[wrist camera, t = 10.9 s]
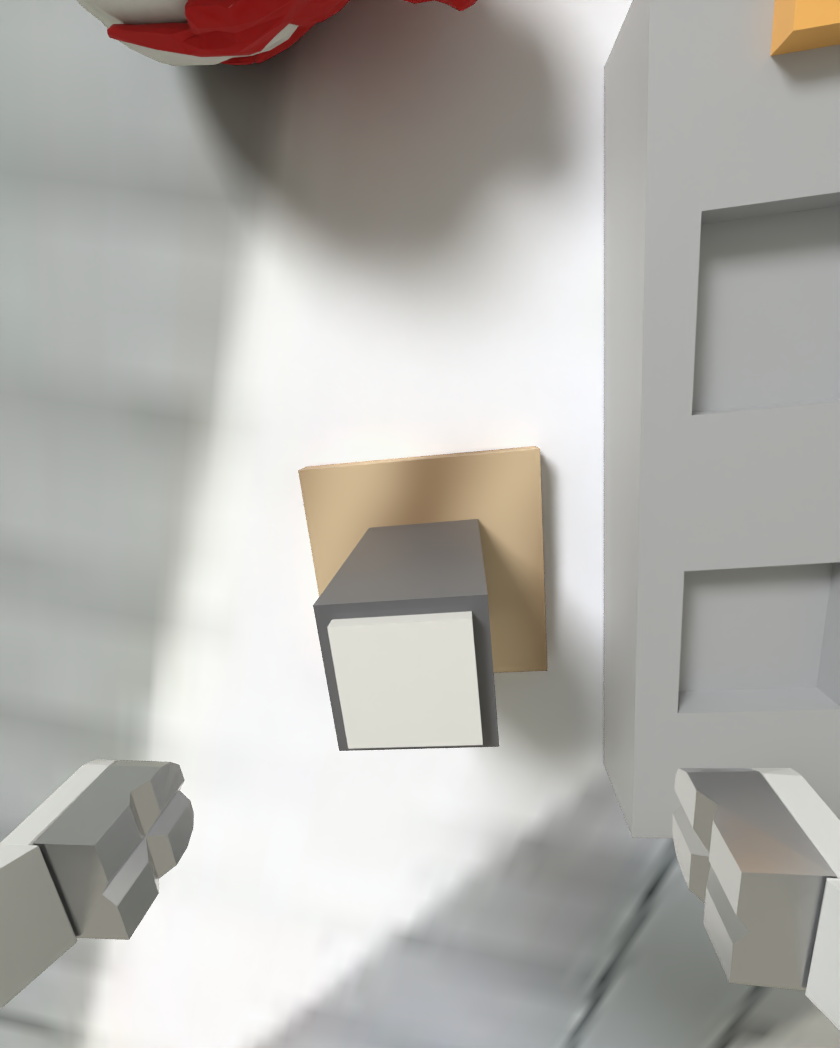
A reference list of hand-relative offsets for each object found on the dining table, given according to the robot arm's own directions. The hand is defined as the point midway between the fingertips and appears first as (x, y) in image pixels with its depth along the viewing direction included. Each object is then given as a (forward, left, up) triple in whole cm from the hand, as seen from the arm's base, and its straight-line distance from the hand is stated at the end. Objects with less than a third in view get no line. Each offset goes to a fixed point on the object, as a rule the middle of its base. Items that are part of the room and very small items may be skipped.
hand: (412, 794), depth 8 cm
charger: (+1, 0, -11) cm, 11 cm away
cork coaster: (+1, 0, -12) cm, 12 cm away
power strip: (-10, -6, -12) cm, 17 cm away
